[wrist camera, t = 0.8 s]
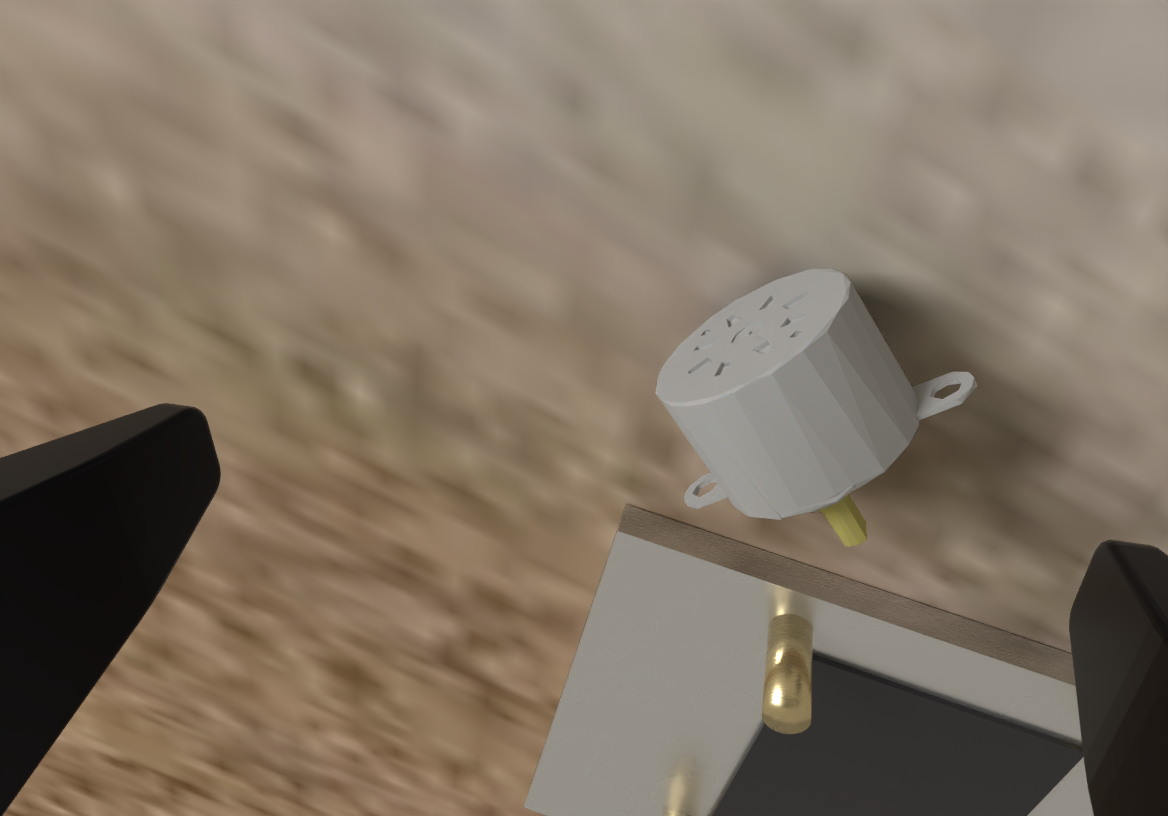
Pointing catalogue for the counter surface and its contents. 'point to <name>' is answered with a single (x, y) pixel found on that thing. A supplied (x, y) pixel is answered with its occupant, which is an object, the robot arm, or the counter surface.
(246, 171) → the counter surface
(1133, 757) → the robot arm
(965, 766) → the chassis plate
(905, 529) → the counter surface
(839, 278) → the electric motor
